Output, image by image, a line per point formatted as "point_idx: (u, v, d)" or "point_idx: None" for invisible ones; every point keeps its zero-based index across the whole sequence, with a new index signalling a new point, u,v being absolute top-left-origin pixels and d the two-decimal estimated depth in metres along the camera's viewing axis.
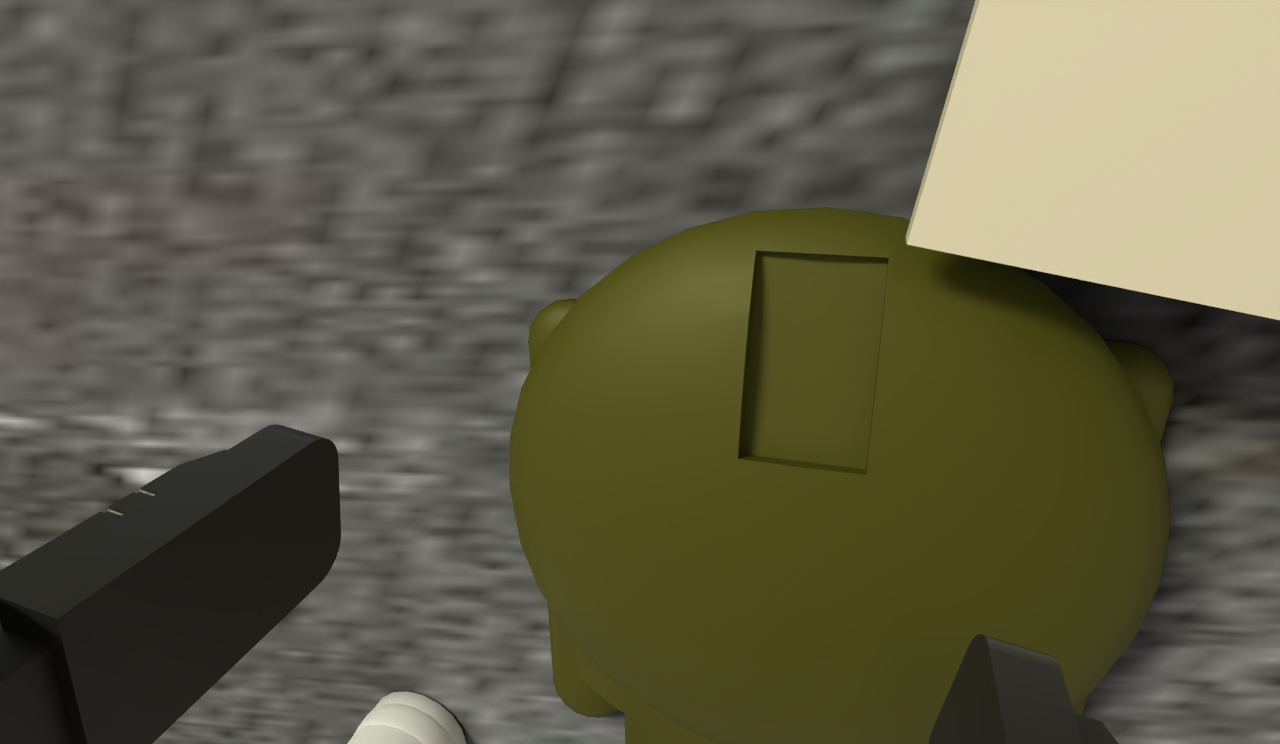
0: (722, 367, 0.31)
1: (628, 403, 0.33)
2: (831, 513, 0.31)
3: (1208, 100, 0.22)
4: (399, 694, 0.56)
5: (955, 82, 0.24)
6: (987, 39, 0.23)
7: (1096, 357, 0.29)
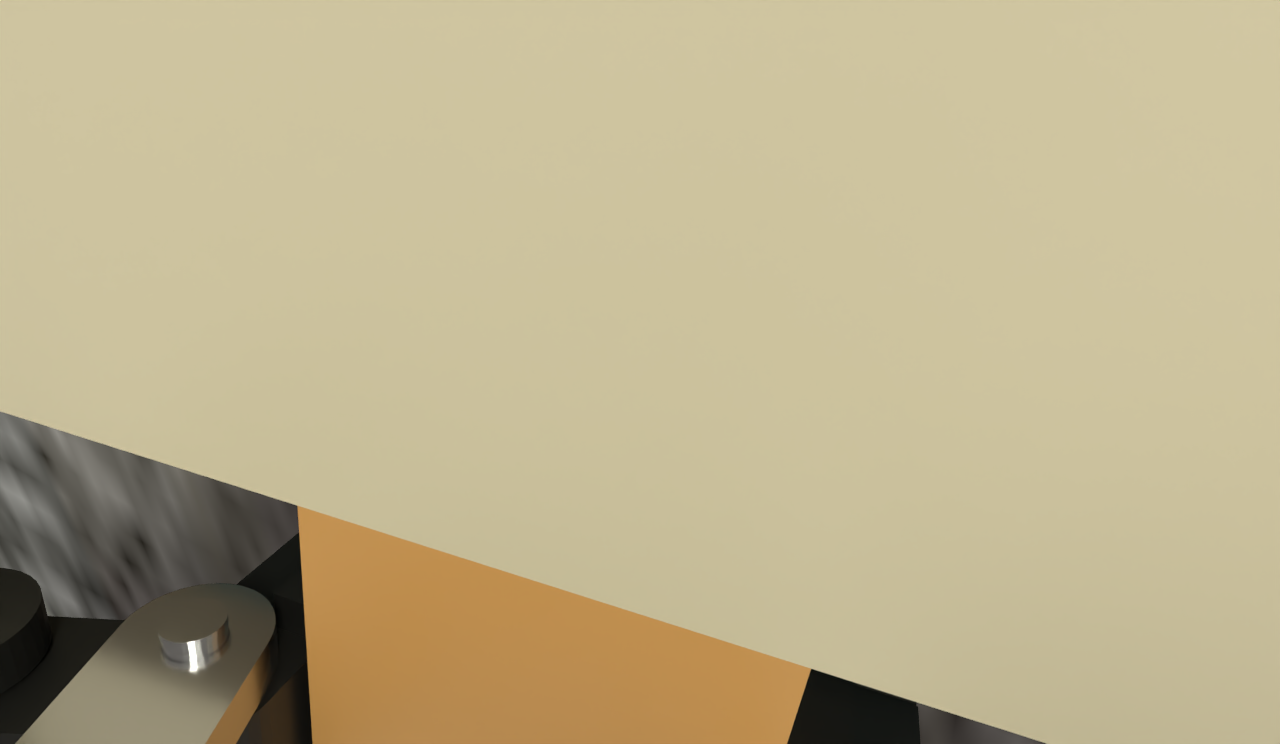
0: None
1: None
2: None
3: None
4: None
5: None
6: None
7: None
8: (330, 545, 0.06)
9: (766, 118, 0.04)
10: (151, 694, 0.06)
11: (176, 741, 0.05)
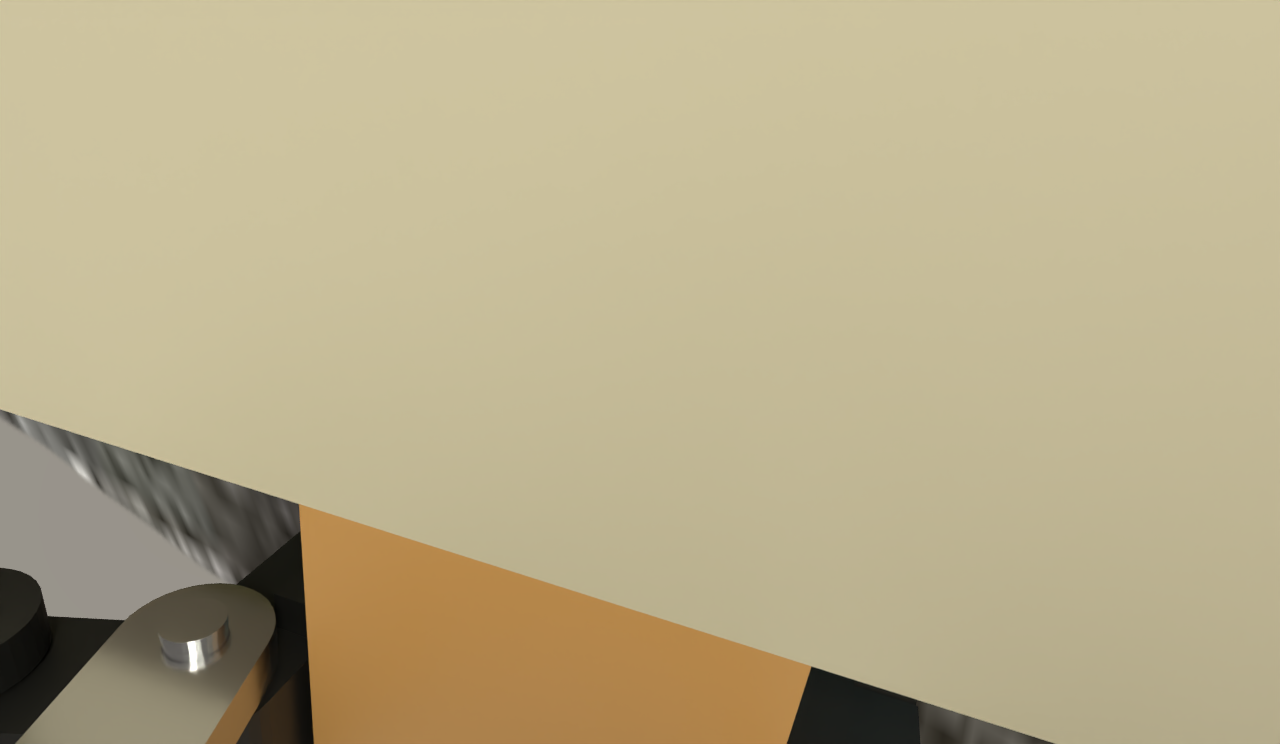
0: None
1: None
2: None
3: None
4: None
5: None
6: None
7: None
8: (331, 543, 0.06)
9: (766, 117, 0.04)
10: (151, 696, 0.06)
11: (176, 741, 0.05)
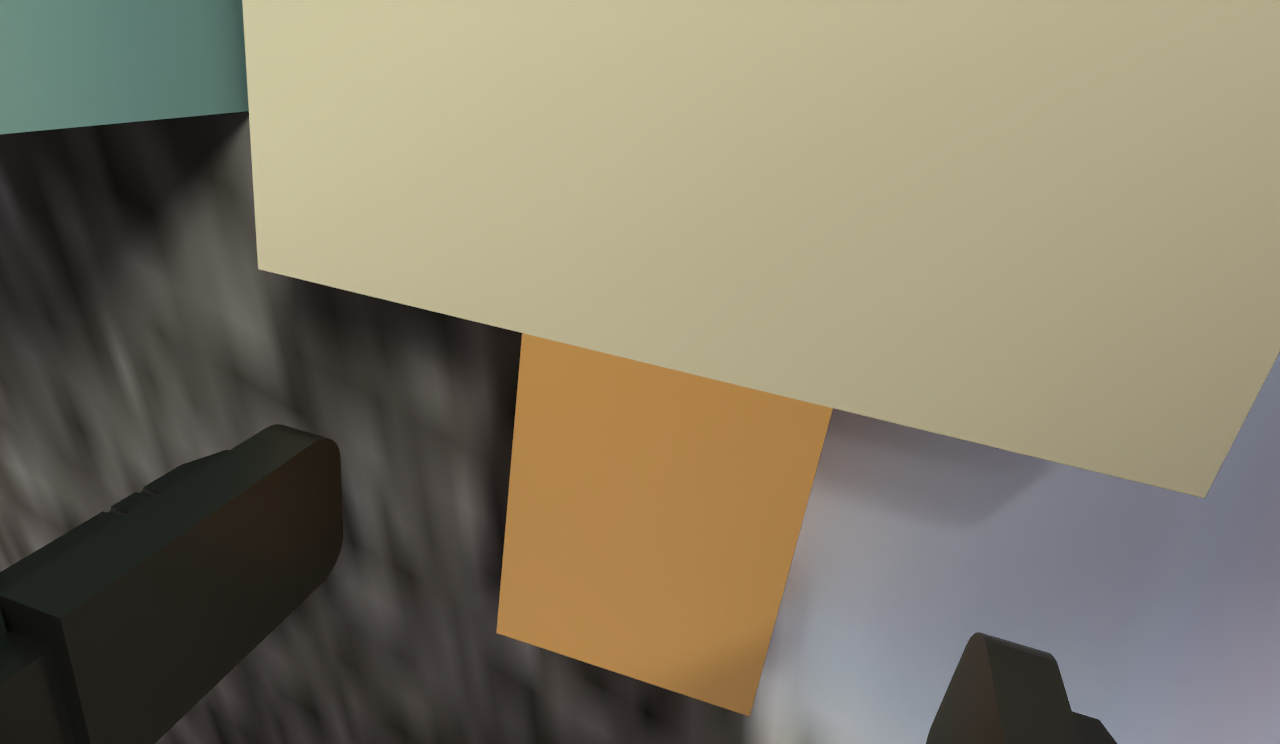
0: None
1: None
2: None
3: None
4: None
5: None
6: None
7: None
8: (540, 358, 0.10)
9: (812, 92, 0.08)
10: None
11: None
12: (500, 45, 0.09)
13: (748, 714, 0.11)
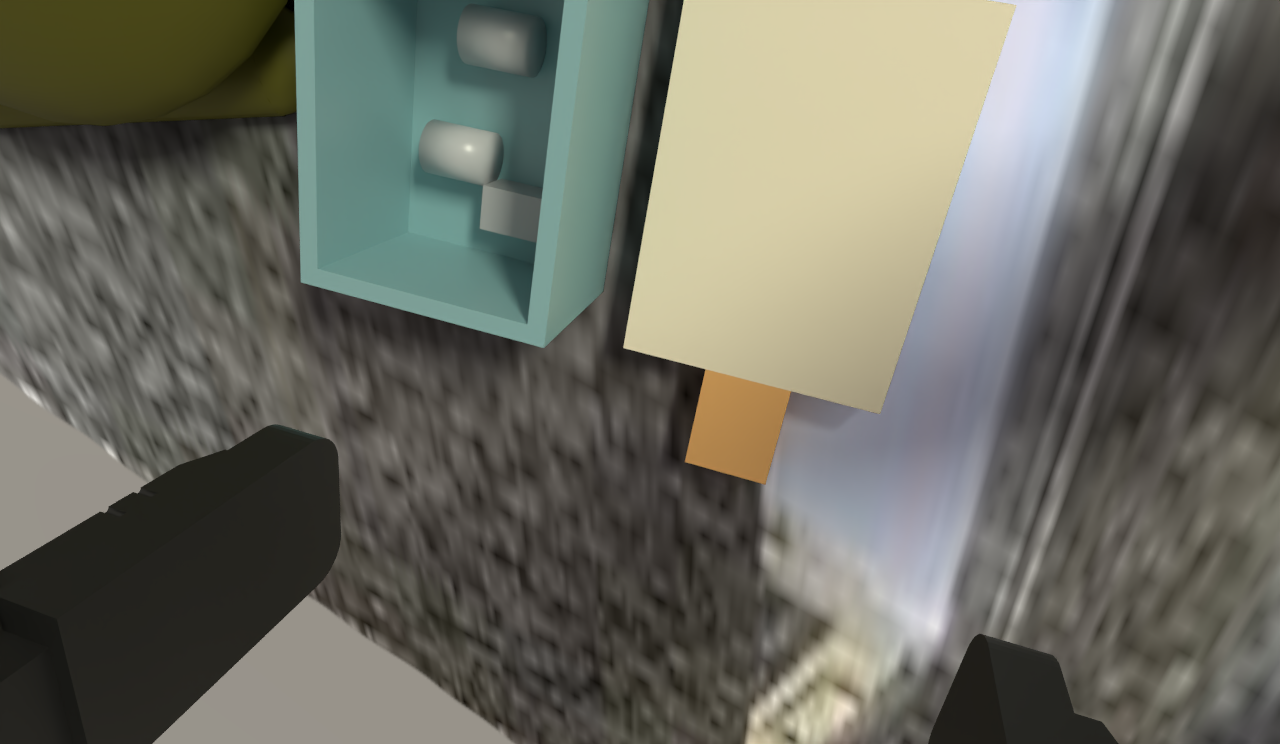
0: None
1: None
2: None
3: (797, 168, 0.31)
4: None
5: None
6: None
7: None
8: (710, 376, 0.35)
9: (787, 316, 0.33)
10: None
11: None
12: (708, 297, 0.34)
13: (764, 483, 0.36)
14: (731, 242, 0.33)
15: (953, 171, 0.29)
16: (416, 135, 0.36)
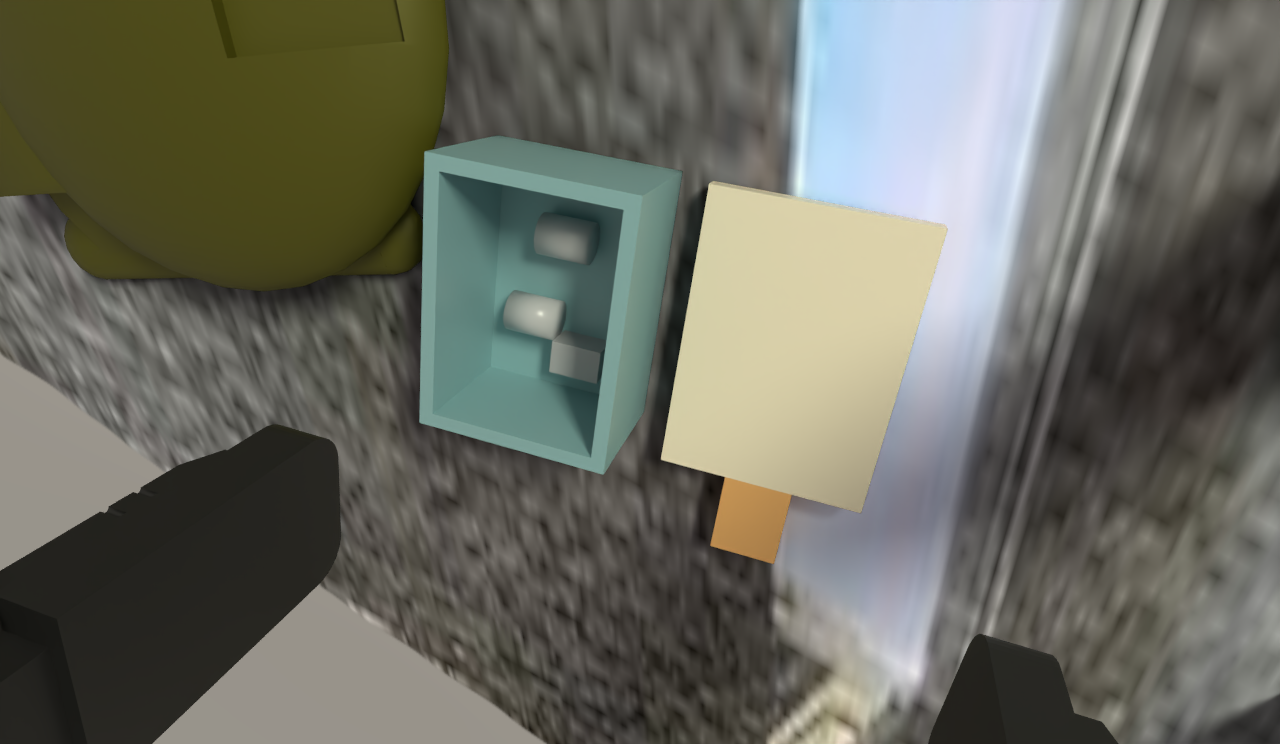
0: None
1: None
2: (185, 35, 0.36)
3: (791, 334, 0.41)
4: None
5: (810, 203, 0.38)
6: (834, 218, 0.38)
7: (382, 210, 0.41)
8: (728, 482, 0.45)
9: (786, 439, 0.43)
10: None
11: None
12: (726, 424, 0.44)
13: (773, 563, 0.46)
14: (742, 385, 0.43)
15: (908, 340, 0.39)
16: (498, 297, 0.46)
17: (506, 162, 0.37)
